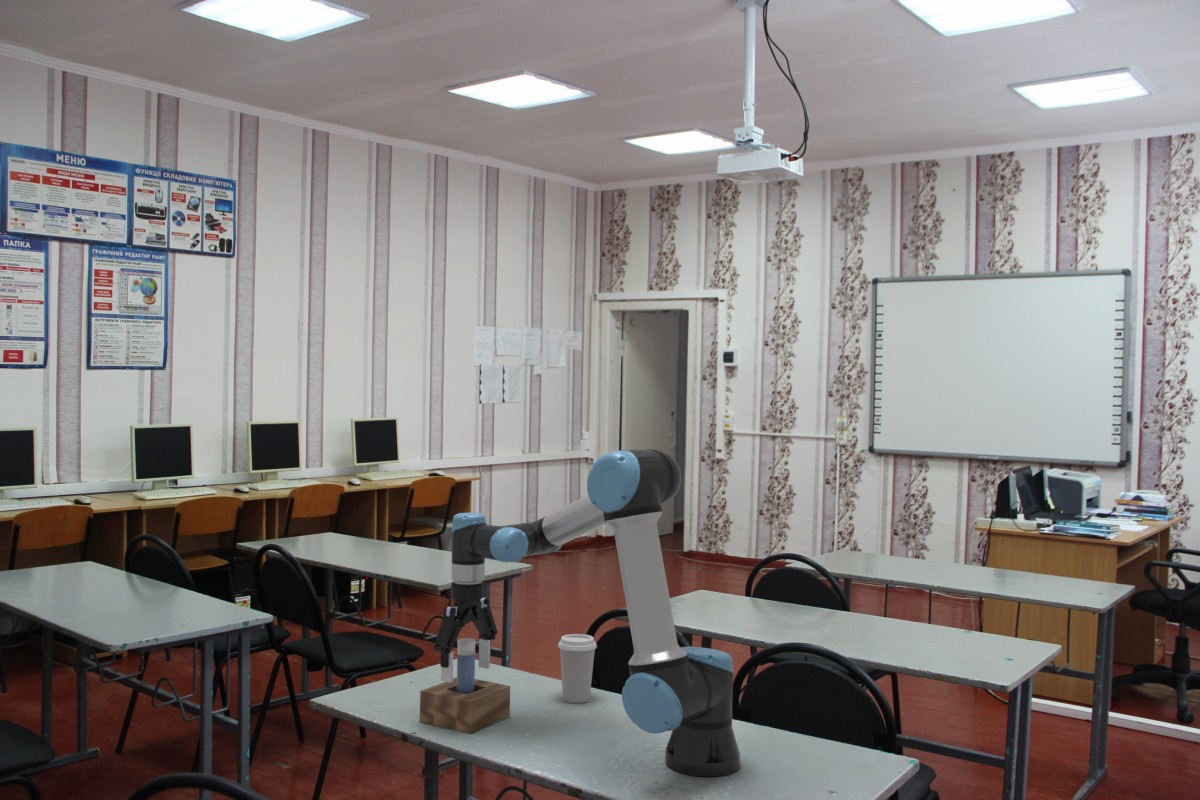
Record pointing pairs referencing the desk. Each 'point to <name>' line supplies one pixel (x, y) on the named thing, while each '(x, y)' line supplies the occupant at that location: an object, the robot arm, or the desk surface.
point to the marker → (466, 665)
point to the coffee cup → (576, 666)
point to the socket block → (465, 706)
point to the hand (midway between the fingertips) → (466, 674)
